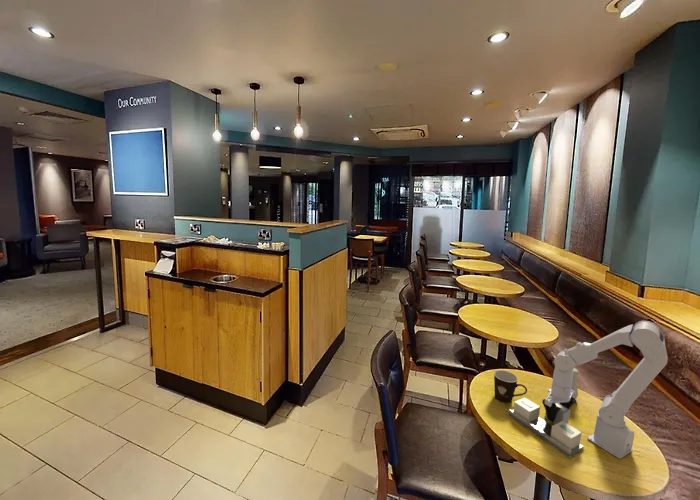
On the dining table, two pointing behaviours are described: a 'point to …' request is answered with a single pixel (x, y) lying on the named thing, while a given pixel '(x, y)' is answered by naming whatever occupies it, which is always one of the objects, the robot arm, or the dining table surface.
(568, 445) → the module
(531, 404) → the block
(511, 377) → the coffee mug
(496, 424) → the dining table surface
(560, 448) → the rail
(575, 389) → the salt shaker
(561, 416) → the block
